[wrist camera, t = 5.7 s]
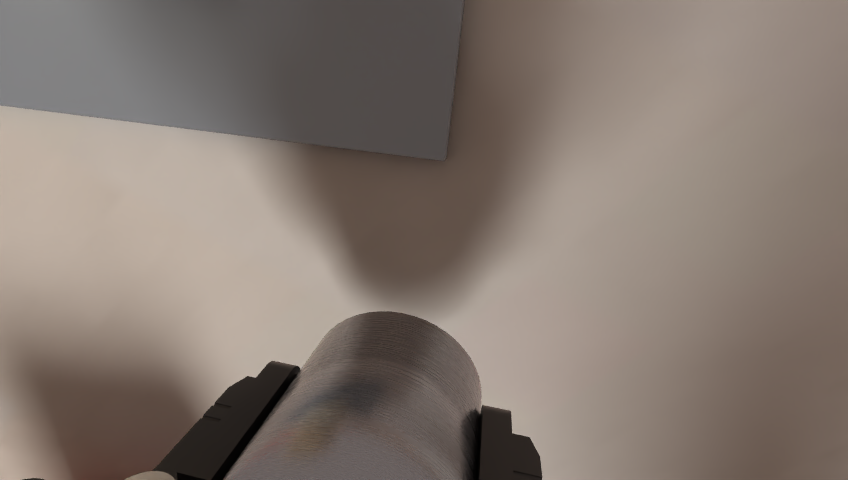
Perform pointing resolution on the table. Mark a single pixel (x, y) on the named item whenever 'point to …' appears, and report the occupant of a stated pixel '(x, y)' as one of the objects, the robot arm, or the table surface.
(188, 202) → the table surface
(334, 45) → the slate mat
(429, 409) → the metal cylinder
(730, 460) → the table surface
